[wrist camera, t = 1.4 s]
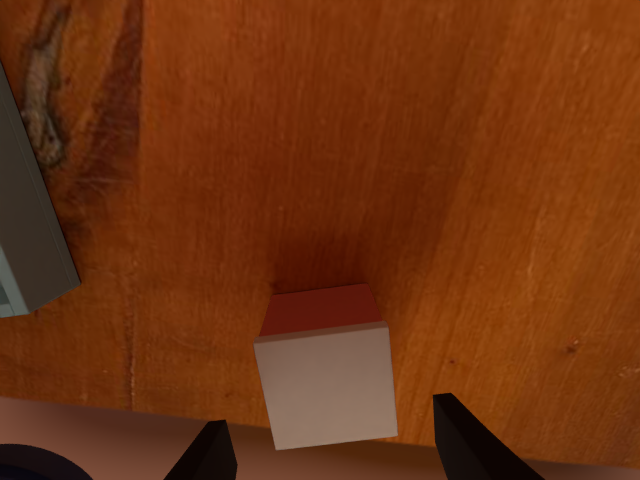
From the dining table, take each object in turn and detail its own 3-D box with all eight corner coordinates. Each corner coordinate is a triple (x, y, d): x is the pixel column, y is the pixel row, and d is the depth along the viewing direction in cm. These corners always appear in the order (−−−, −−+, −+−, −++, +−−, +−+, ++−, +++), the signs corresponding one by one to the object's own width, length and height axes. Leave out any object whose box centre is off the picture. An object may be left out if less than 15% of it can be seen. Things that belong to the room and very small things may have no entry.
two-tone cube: (285, 378, 18) (275, 450, 14) (269, 293, 16) (252, 344, 12) (378, 366, 18) (398, 436, 13) (369, 280, 16) (388, 326, 12)
